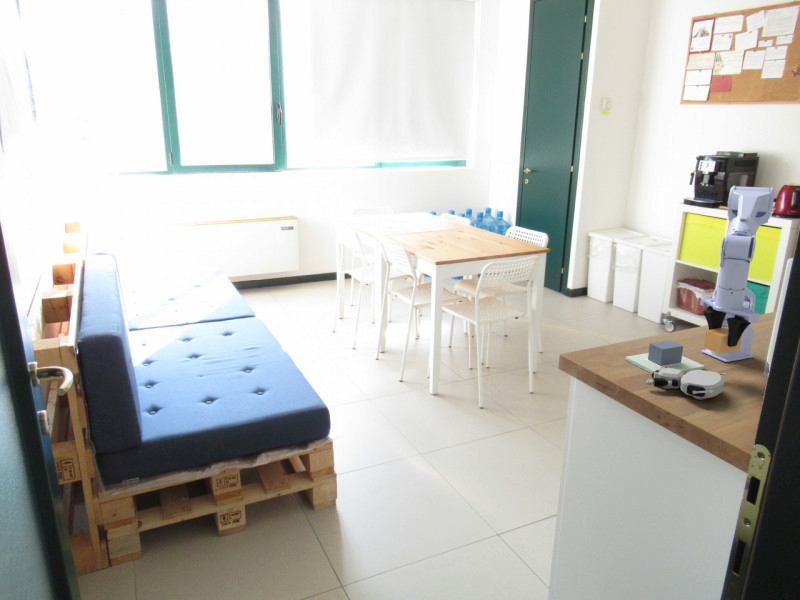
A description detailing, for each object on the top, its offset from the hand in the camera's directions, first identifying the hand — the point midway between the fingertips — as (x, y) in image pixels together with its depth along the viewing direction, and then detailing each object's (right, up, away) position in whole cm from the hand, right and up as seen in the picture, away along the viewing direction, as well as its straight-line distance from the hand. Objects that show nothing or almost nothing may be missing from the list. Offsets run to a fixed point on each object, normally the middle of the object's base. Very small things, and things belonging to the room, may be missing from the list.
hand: (723, 342), depth 141 cm
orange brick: (0, -2, 0) cm, 2 cm away
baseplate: (-10, -6, +9) cm, 15 cm away
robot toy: (-12, -11, -5) cm, 17 cm away
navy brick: (-10, -5, +9) cm, 14 cm away
